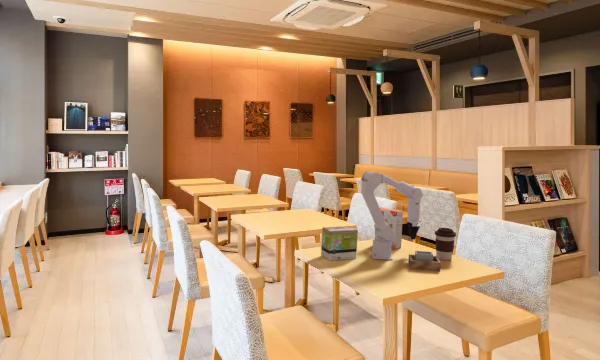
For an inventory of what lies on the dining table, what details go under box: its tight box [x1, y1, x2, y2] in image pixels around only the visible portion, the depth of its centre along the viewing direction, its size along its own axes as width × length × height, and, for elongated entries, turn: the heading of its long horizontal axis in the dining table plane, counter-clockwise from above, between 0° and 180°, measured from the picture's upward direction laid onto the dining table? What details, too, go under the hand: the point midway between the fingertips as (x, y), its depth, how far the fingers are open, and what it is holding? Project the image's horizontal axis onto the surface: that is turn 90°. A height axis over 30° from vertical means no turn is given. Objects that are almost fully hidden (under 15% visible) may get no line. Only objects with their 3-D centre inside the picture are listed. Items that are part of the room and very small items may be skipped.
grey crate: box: [414, 250, 434, 262], centre depth 193 cm, size 8×5×6 cm, turn 81°
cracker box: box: [374, 207, 404, 250], centre depth 228 cm, size 14×6×21 cm, turn 43°
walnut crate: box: [408, 253, 441, 272], centre depth 193 cm, size 13×10×4 cm
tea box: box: [320, 225, 359, 262], centre depth 205 cm, size 15×10×15 cm
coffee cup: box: [434, 227, 457, 261], centre depth 207 cm, size 10×10×15 cm
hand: (412, 237), depth 210 cm, fingers open, 7 cm apart
